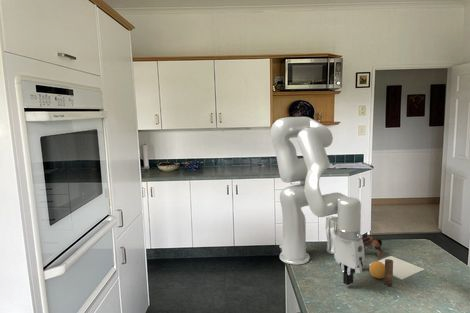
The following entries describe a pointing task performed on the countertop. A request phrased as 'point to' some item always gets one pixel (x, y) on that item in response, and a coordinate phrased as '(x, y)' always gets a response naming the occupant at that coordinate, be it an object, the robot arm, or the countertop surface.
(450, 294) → the countertop surface
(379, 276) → the ball
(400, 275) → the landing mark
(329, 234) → the beer glass
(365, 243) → the reddish brown arched figurine
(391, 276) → the post right
